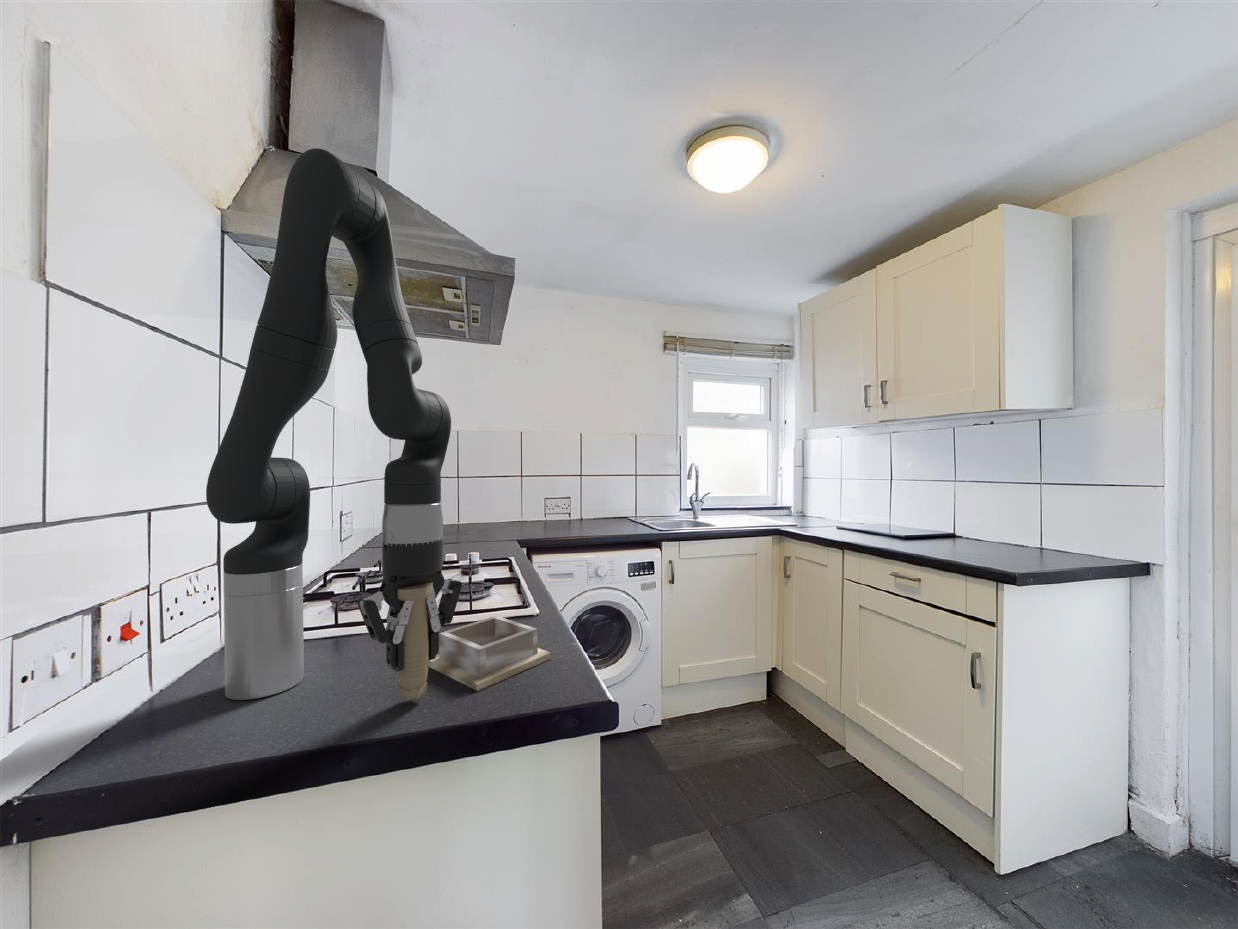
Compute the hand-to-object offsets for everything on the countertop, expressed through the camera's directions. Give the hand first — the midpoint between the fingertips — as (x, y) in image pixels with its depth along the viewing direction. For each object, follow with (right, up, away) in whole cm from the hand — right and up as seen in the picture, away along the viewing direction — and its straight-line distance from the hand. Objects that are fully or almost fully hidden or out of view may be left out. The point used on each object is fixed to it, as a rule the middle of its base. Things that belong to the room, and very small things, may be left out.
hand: (413, 663), depth 64 cm
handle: (0, -4, 0) cm, 4 cm away
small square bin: (+7, -5, +13) cm, 15 cm away
